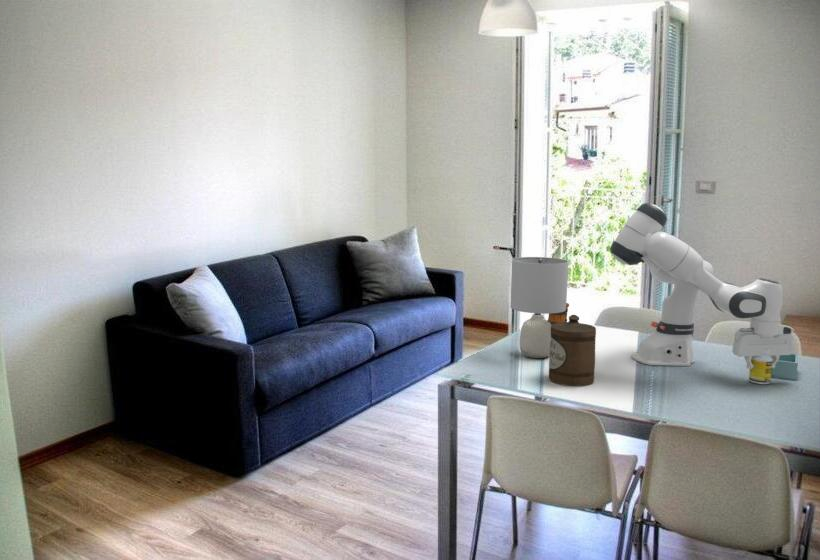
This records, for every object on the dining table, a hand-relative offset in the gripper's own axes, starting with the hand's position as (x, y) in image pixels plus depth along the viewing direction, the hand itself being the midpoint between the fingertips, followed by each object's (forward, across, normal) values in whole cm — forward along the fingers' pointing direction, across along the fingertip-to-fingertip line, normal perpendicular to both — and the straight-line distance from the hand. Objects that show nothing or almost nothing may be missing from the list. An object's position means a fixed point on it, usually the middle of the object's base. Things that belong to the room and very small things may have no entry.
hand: (760, 368), depth 238 cm
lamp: (+5, -63, +42) cm, 76 cm away
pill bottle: (+5, 0, 0) cm, 5 cm away
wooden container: (+5, -62, +11) cm, 63 cm away
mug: (+5, -38, +83) cm, 91 cm away
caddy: (+5, +13, +10) cm, 17 cm away
